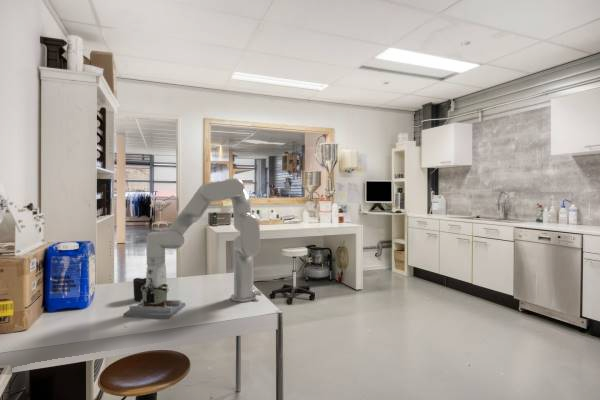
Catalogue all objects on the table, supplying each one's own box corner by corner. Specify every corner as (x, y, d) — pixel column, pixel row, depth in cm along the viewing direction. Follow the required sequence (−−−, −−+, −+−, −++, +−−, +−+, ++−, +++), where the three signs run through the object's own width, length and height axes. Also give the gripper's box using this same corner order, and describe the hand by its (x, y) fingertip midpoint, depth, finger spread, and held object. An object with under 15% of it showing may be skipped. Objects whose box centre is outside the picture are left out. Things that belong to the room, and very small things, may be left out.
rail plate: (185, 305, 158) (185, 298, 158) (169, 318, 142) (169, 310, 142) (143, 304, 160) (143, 297, 160) (123, 316, 144) (123, 308, 144)
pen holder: (146, 302, 162) (146, 281, 162) (128, 301, 164) (128, 280, 164) (158, 297, 171) (158, 277, 171) (141, 295, 173) (141, 276, 173)
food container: (174, 305, 154) (174, 283, 154) (167, 310, 148) (167, 287, 148) (148, 304, 155) (148, 282, 155) (140, 308, 149) (140, 285, 149)
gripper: (154, 264, 142) (154, 305, 142) (172, 257, 159) (172, 293, 159) (137, 264, 142) (137, 305, 142) (157, 256, 159) (157, 293, 160)
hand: (155, 299), depth 151 cm, fingers open, 9 cm apart
